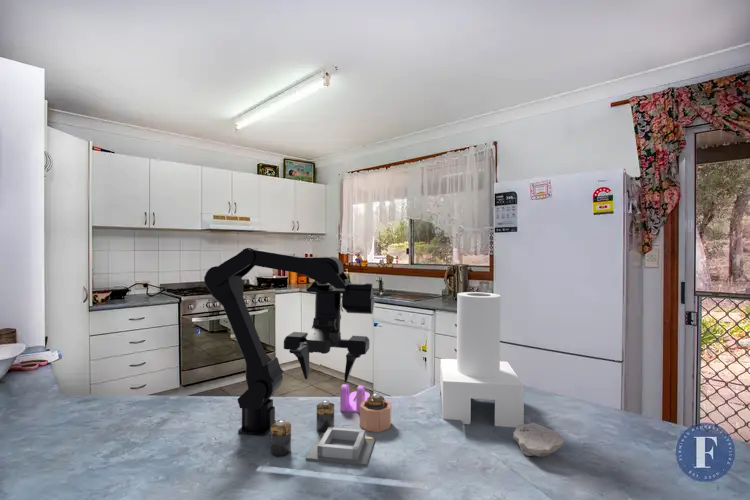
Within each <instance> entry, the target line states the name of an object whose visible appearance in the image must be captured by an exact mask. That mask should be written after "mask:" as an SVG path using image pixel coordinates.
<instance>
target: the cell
mask: <svg viewBox="0 0 750 500" xmlns="http://www.w3.org/2000/svg"><path fill="white" fill-rule="evenodd" d="M329 427H335V404H334V403H333V402H330V400H328V399H324V400H322V401H321V402H320V403H318V404H316V428H315V429H316V432H318V433H320V434H321V433H326V431H327V429H328V428H329Z"/></svg>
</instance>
